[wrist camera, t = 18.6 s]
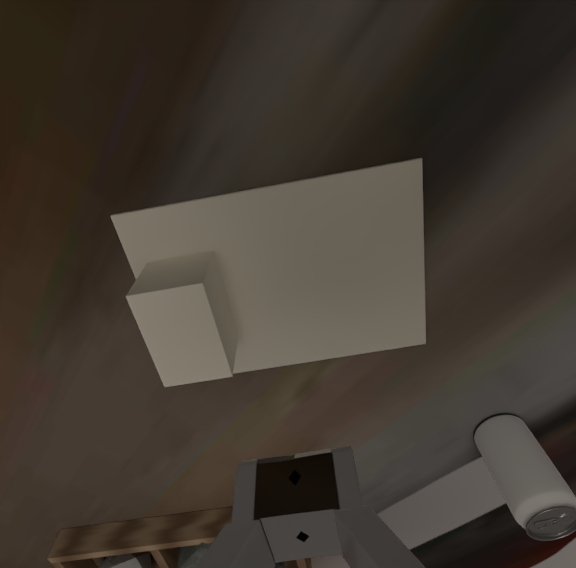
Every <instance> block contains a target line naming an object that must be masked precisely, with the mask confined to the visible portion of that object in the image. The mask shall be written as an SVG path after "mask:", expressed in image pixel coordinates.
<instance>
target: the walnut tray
mask: <svg viewBox="0 0 576 568" xmlns="http://www.w3.org/2000/svg"><path fill="white" fill-rule="evenodd" d="M232 509H233V507H226V508H219V509H211V510H203V511H196V512H188V513H181V514H173V515H166V516H158V517H151V518H143V519H136V520H128V521H121V522H113V523H105V524H98V525H90V526H83V527H75V528H68V529H61V531H60V533H59V535H58V537H57V539H56V541H55V543H54V546H53V548H52V550H51V552H50V554H49V556H48V560H49V561H50V562H51V563H52V565H53V566H54V567H55V568H98V567H97V566H96V564H95V563H94V562H93V560H92V559H91V558H97V557H105V556H113V555H121V554H129V553H136V552H144V551H150V552H151V554H152V555H153V557H154V559H155V560H156V562H157V564H158V565H159V567H160V568H177V564H178V559H179V553H180V547H184V546H191V545H199V544H201V542H203V543H206V544H207V543H213V541H214V540H215V538H216V537H217V536H218V534H219V533H220V531H221V530H222V528H223V527H224V525H225V524H229V523H231V519H232ZM284 568H312V567H311V558H304V559H297V560H291V561H285V565H284Z"/></svg>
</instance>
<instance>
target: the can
mask: <svg viewBox="0 0 576 568" xmlns="http://www.w3.org/2000/svg"><path fill="white" fill-rule="evenodd" d="M474 440H475V443H476V445H477V447H478V449H479V451H480V453H481V455H482V457H483V459H484V461H485V463H486V465H487V467H488V469H489V470H490V472H491V474H492V476H493V478H494V480H495V482H496V484H497V486H498V488H499V490H500V492H501V494H502V495H503V497H504V499H505V501H506V503H507V505H508V507H509V509H510V511H511V513H512V514H513V516H514V518H515V520H516V521H517V522H518V523H519V524H520V525H521V526H522V527H523V528H524V529H526V532H527V534H528V535H529V536H530V537H531V538H533V539H536V540H542V541H548V540H556V539H560V538H563V537H565V536H568V535H570V534H571V533H573V532H575V531H576V497H575V496H574V494H573V492H572V491H571V489H570V488H569V486H568V485H567V484H566V482H565V481H564V479H563V478H562V476H561V475H560V473H559V472H558V470H557V469H556V467H555V466H554V465H553V463H552V462H551V460H550V459H549V457H548V456H547V454H546V453H545V451H544V450H543V449H542V447H541V446H540V444H539V443H538V441H537V440H536V438H535V437H534V436H533V434H532V433H531V431H530V430H529V428H528V427H527V426H526V424H525V423H524V422H523V420H522V419H520V418H519V417H516V416H513V415H508V414H501V415H496V416H492V417H490V418H488V419H486V420H485V421H483V422H482V423H481V424H480V425H479V426H478V427H477V429H476V432H475V435H474Z"/></svg>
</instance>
